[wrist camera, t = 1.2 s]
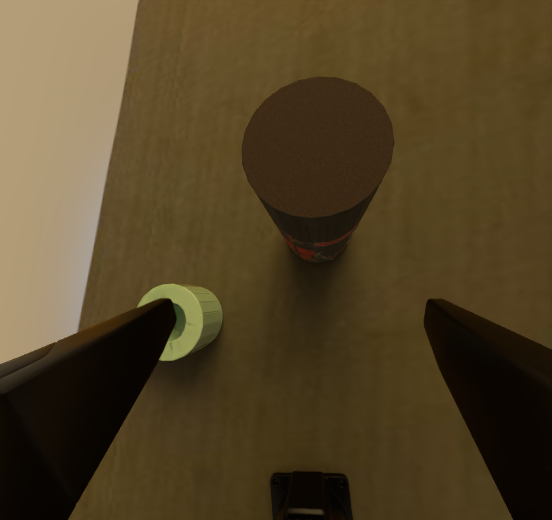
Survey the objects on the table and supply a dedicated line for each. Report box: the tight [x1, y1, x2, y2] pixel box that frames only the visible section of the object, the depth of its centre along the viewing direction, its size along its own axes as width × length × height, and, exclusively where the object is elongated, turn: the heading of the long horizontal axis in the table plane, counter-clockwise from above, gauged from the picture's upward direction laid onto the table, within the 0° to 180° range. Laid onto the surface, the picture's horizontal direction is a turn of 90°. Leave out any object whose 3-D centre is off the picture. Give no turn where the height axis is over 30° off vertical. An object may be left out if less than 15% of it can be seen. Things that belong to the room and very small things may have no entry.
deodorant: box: [242, 77, 394, 263], centre depth 18 cm, size 6×6×15 cm
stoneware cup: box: [137, 284, 223, 361], centre depth 24 cm, size 9×6×4 cm
